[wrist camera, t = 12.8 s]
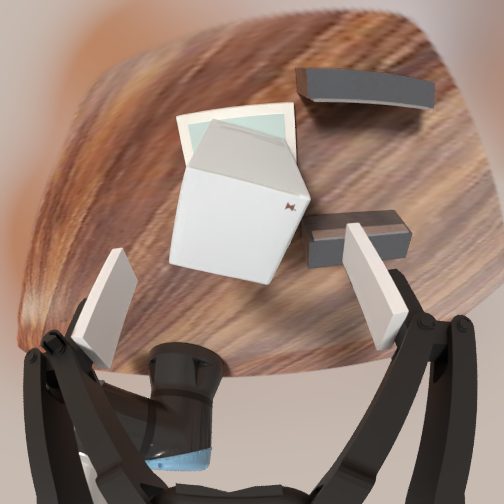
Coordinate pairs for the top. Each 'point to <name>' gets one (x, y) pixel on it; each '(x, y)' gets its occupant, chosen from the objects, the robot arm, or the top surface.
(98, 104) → the top surface
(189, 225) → the supplement box
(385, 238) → the vise
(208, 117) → the plate
